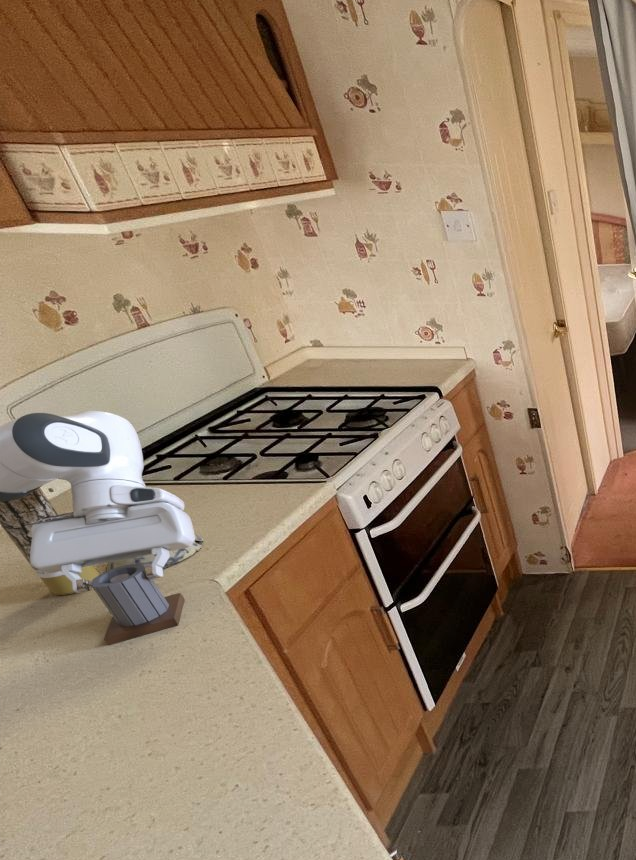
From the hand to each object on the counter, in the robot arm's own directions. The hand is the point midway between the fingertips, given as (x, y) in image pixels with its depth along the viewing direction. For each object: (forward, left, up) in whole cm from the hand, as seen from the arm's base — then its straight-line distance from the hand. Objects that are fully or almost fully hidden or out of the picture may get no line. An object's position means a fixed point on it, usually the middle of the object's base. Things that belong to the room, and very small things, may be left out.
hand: (119, 584), depth 110 cm
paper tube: (-13, +23, -8) cm, 27 cm away
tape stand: (0, +1, -8) cm, 8 cm away
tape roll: (0, +1, -7) cm, 7 cm away
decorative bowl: (-2, +28, -8) cm, 29 cm away
